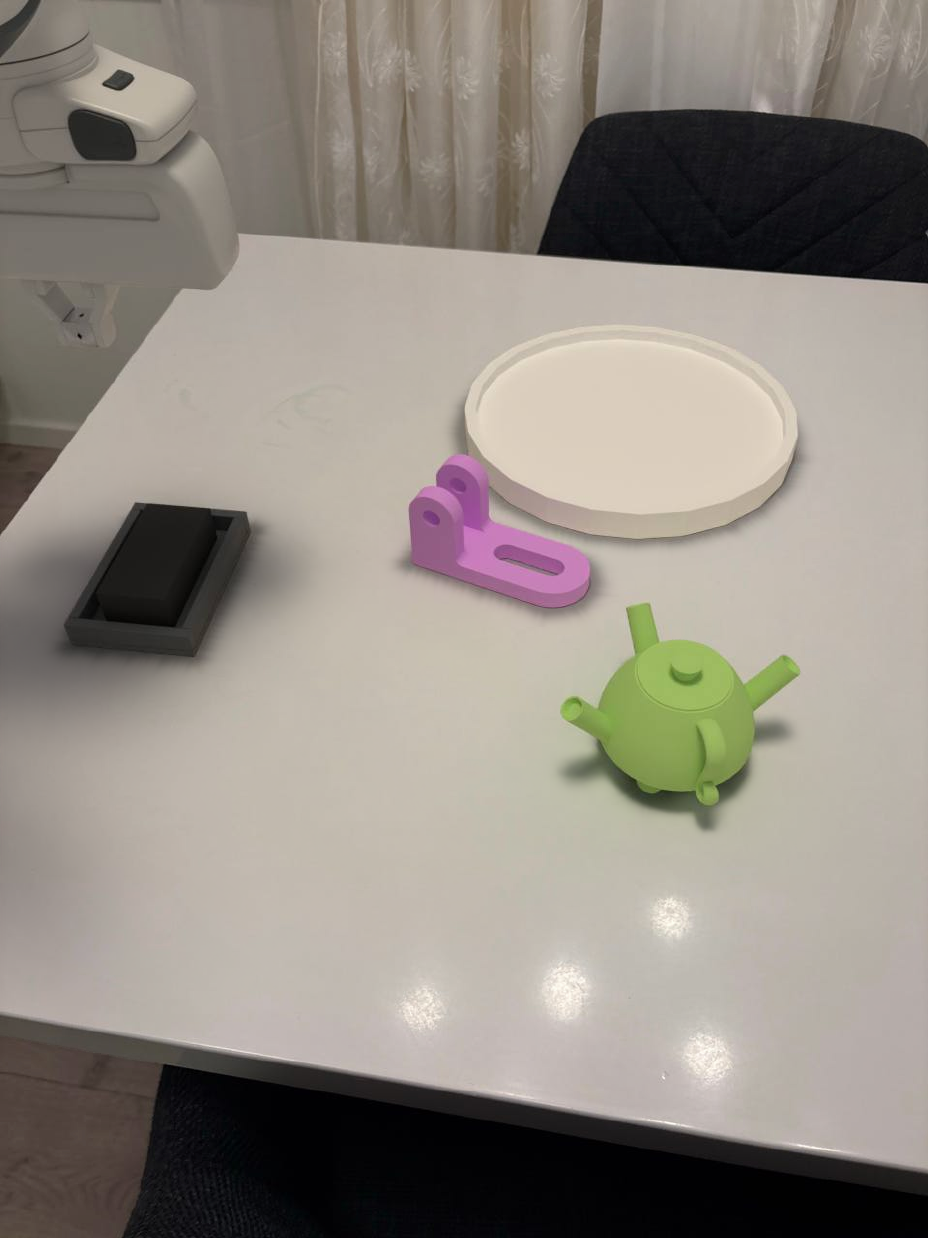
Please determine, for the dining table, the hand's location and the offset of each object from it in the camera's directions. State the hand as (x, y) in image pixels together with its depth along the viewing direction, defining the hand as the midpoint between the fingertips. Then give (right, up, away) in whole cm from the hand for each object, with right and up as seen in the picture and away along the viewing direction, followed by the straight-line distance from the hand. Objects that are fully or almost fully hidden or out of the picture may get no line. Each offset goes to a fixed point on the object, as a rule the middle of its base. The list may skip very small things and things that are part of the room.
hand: (89, 341), depth 63 cm
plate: (+37, -1, +27) cm, 46 cm away
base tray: (0, -14, +15) cm, 20 cm away
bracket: (+26, -13, +15) cm, 33 cm away
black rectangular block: (0, -14, +14) cm, 20 cm away
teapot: (+36, -25, +3) cm, 44 cm away
